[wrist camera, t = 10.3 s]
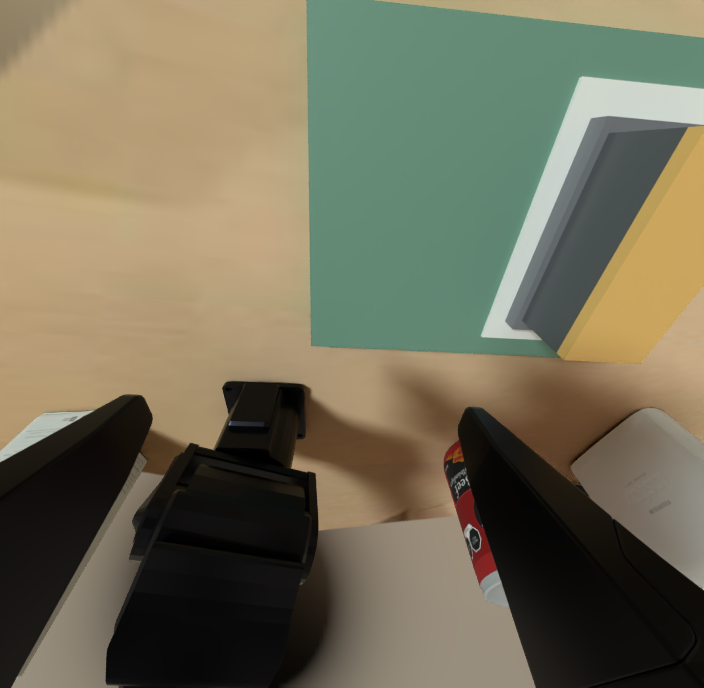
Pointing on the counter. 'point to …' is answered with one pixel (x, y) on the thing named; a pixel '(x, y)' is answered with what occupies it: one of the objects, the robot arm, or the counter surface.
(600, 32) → the board
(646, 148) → the yellow and grey block
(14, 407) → the counter surface
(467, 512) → the canned food
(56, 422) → the skincare box
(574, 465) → the photo printer
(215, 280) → the counter surface
